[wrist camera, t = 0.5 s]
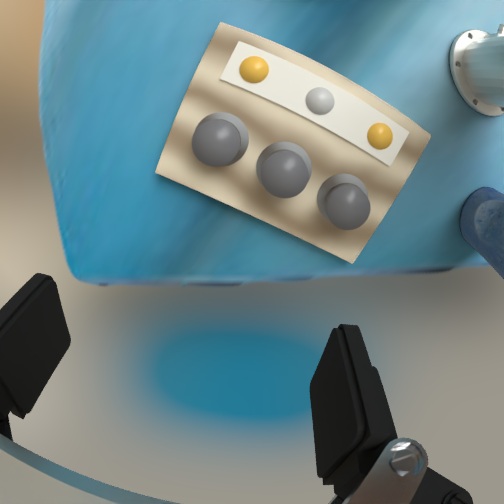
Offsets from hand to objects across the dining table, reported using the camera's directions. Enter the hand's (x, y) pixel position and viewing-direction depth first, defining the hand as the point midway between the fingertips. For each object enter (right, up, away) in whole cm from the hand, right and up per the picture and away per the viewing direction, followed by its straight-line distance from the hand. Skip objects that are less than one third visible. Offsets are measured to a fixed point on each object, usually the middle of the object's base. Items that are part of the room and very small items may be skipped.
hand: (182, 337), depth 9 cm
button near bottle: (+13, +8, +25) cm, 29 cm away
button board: (+7, +16, +26) cm, 31 cm away
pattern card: (+10, +19, +21) cm, 30 cm away
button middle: (+6, +12, +24) cm, 27 cm away
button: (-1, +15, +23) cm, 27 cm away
